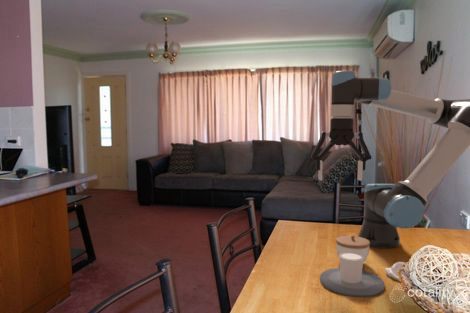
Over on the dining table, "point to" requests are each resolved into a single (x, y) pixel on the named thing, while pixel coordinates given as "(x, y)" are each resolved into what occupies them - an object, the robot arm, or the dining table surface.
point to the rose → (394, 270)
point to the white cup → (351, 267)
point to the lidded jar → (353, 245)
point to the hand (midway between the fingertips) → (339, 180)
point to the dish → (352, 284)
